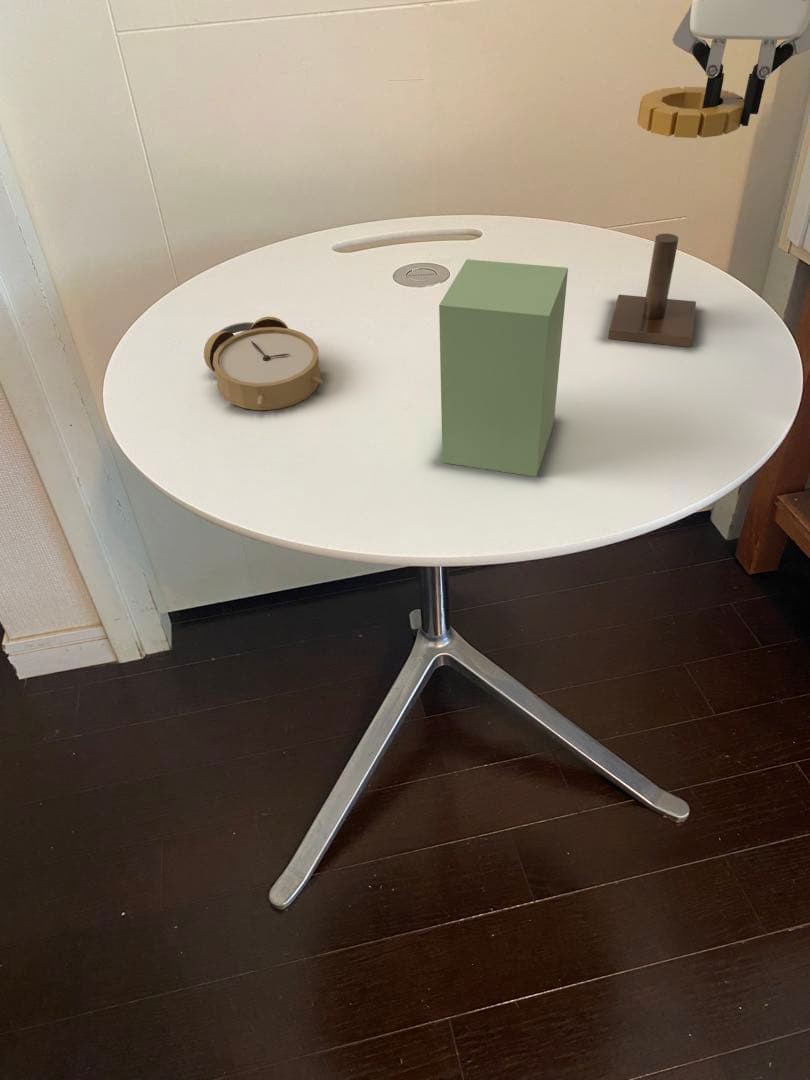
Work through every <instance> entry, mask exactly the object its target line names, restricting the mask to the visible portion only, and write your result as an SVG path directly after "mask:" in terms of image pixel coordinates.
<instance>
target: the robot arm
mask: <svg viewBox="0 0 810 1080" xmlns="http://www.w3.org/2000/svg"><path fill="white" fill-rule="evenodd" d="M706 39H710V40H711V44H710V45H709V44H708V42H707V41H706ZM728 40H747V41H749V40H755V41H757V40H761V41H760V45H759V52H758V56H757V57H758V58H757V63H756V64H755V65H753V68H752V71H751V73H749V75H748V79H747V84H746V87H745V93H744V97H743V99H744V108H743V113H742V117H741V122H740V125H741V126H742V127H749V123H750V119H751V115H758V114H759V110H760V107H761V101H762V97H763V93H764V90H765V84H766V80H767V79H768V78H769V77H770V76H771V74H772V73H774V72H775V71H776V70H778V68H780V67H781V66H782V65H783V64H784V63H785V62H787V61H788V60H789V59H790V58H791V57H794V56H797V55H799V54H802V53H804V52H806V51H808V50H810V0H692V2H691V4H690V6H689V7H688V9H687V11H686V13H685V14H684V17H683V18H682V19H681V21H680V23H679V25H678V26H677V28H676V30H675V32H674V34H673V36H672V44H673V45H674V46H676V47H678V48H679V49H681V50H683V51H684V52H686V53H688V54H690V55H692V56H693V58H694V59H695V60H696V61H697V63H698V64H699V65H700V67H701V68H702V69H703V71H704V72H705V75H706V77H707V80H706V84H705V88H706V89H705V96H704V101H703V107H702V109H703V108H711V107H716V106H718V105H719V100H720V95H721V90H723V84H724V80H725V79H724V78H725V72H724V65H723V64H722V62H723V57H724V54H725V49H726V45H727V41H728ZM779 40H783V41H782V42H781V43H780V44H777V43H778V41H779Z"/></svg>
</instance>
